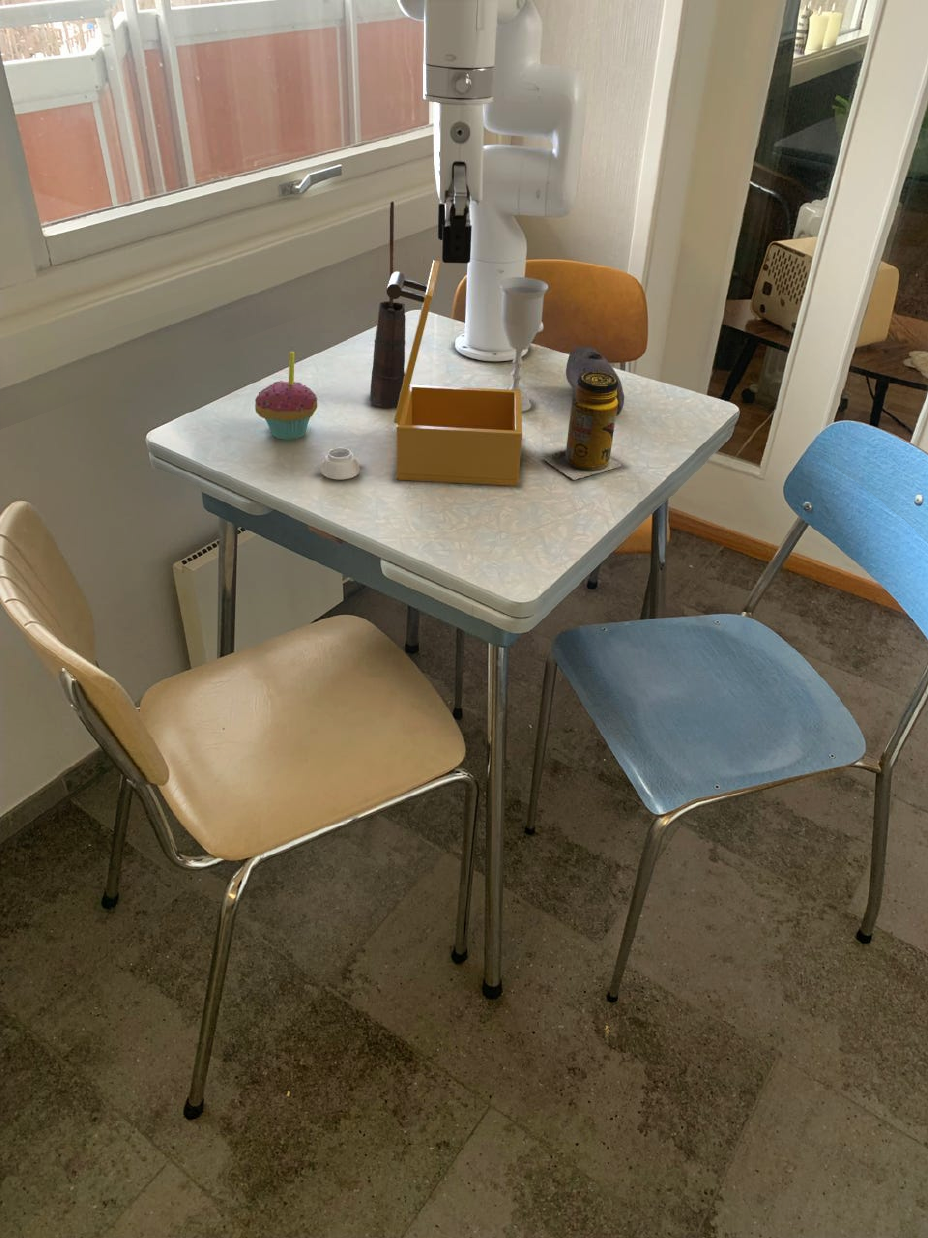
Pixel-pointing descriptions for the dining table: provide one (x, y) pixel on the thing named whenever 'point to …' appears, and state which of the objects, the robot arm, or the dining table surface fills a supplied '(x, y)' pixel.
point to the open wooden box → (460, 435)
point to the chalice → (521, 320)
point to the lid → (395, 292)
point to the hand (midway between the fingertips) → (453, 250)
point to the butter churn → (389, 346)
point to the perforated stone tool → (591, 369)
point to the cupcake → (287, 406)
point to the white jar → (340, 464)
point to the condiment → (589, 428)
